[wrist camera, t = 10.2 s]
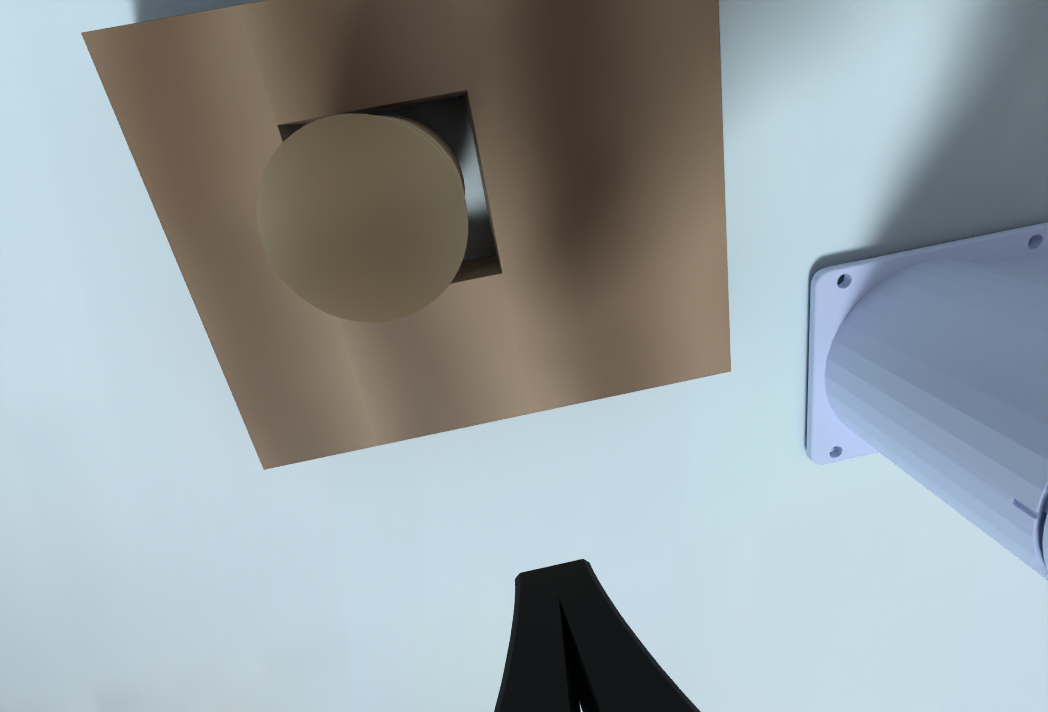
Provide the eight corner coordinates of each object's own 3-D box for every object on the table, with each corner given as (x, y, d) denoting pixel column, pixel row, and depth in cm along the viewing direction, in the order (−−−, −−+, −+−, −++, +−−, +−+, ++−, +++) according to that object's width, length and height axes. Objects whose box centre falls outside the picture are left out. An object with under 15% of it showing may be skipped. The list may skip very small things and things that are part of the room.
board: (677, -49, 16) (716, -79, 14) (699, 344, 20) (730, 371, 18) (137, 47, 15) (80, 33, 13) (285, 430, 20) (263, 469, 18)
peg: (457, 113, 17) (461, 104, 9) (468, 239, 18) (478, 316, 11) (329, 119, 16) (229, 115, 9) (349, 246, 18) (278, 332, 10)
